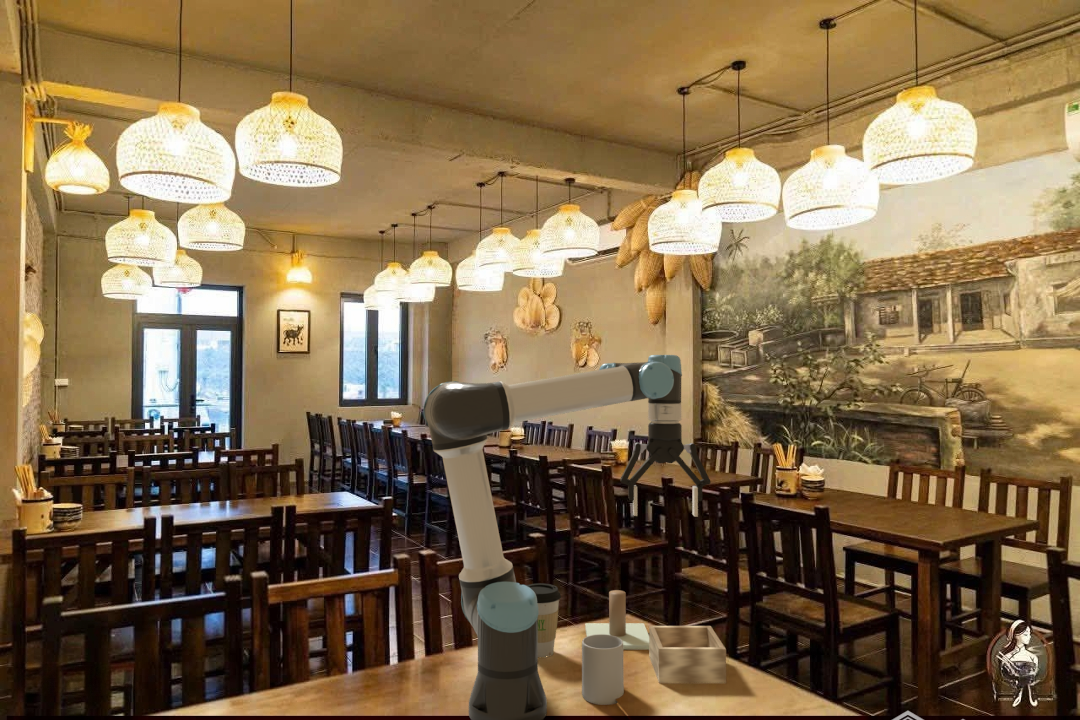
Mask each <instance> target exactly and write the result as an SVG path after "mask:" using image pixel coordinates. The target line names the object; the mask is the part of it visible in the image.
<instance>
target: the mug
mask: <svg viewBox="0 0 1080 720" xmlns="http://www.w3.org/2000/svg"><path fill="white" fill-rule="evenodd" d="M624 685H625V684H624V650H623V641H622V640H621V639H620V638H618V637H616V636H612V635H605V634H597V635H591V636H587V635H586V637H584V638H583V639H582V642H581V696H582V698H583V699H584V700H585V701H587V702H588V703H591V704H594V705H599V706H600V705H601V706H606V705H607V706H610V705H615V704H617V703H619V702H618V701H617V699H619V698H621V697H623V695H624V694H625V693H624V692H625V686H624Z"/></svg>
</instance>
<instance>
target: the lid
mask: <svg viewBox="0 0 1080 720" xmlns="http://www.w3.org/2000/svg"><path fill="white" fill-rule="evenodd" d="M626 595H627V594H626V592H625V591H624V590H619V589H614V590H610V591H609V592H608V599H609V600H608V601H609V603H608V609H609V614H608V615H609V616H608V617H609V620H608V622H607V623H606V622H603V623H601V622H597V623H594V622H593V623H592V622H591V623H590V622H588V623H587V622H585V624H584V626H585V627H584V628H585V634H586V637H587V636H591V635H597V634H605V635H612V636H616V637H618V638H620V639H621V640H622V641H623V651H624V650H626V651H627V650H638V651H639V650H641V651H642V650H648V651H649V631H648V630H647V628H646V626H645V623H642V622H638V623H637V622H632V623H631V622H629V623H628V622H627V621H626V619H627V617H626V616H627V613H626V612H627V611H626V610H627V609H626V607H627V605H626V600H627V599H626V598H627V597H626Z"/></svg>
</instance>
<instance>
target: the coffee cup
mask: <svg viewBox="0 0 1080 720" xmlns="http://www.w3.org/2000/svg"><path fill="white" fill-rule="evenodd" d="M525 585H526V586H528V587H529V588H531V589H532V590H533V591H534V593H535V594H536V597H537V604H538V610H539V614H538V657H545V658H547V657H546V656H549V657H551V656H553V654H554V650H555V640H556V637H557V628H558V618H559V604H560V603H559V602H560V599H561V598H562V596H561V592H560V591H559V588H558V586H556V585H553V584H550V583H542V582H541V583H530V584H525ZM550 655H551V656H550Z"/></svg>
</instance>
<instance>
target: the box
mask: <svg viewBox="0 0 1080 720" xmlns="http://www.w3.org/2000/svg"><path fill="white" fill-rule="evenodd" d="M648 635H649V650H648V651H649V652H648V653H649V654H648V655H649V656H648V657H649V660H650V663H651V666H652V668H653V671H654V673H655V676H656V679H657V682H658V683H659V684H727V649H726V647H725V645H724V644H723V643H722V641H721V640H720V638H719V636H718V635H717V633H716V632H715V631H714V629H713V627H712V626H711V625H649V626H648Z"/></svg>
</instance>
